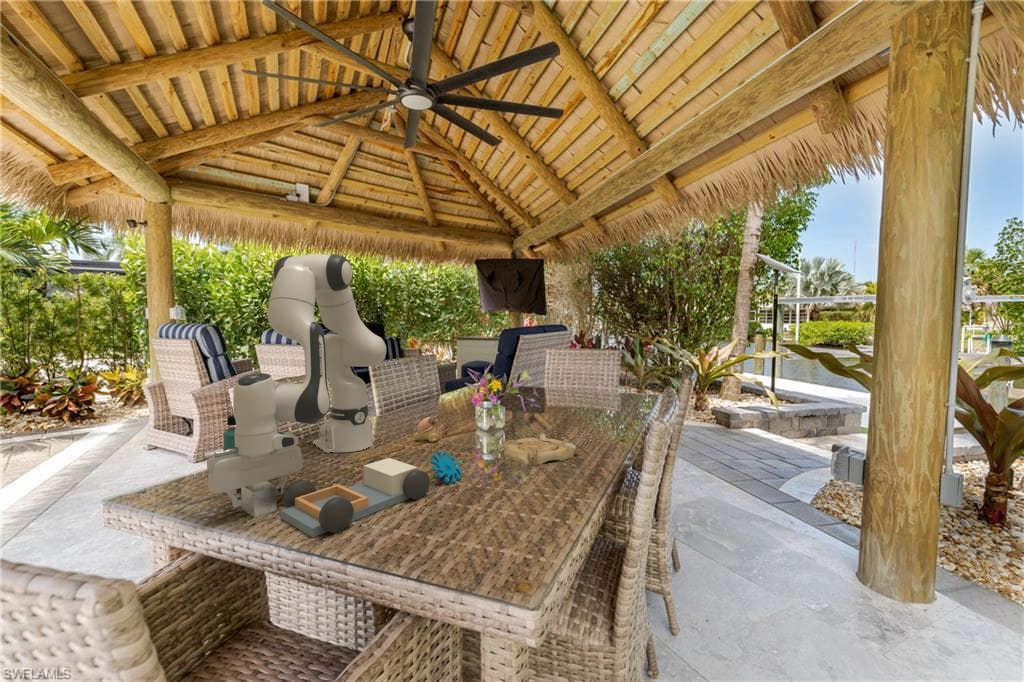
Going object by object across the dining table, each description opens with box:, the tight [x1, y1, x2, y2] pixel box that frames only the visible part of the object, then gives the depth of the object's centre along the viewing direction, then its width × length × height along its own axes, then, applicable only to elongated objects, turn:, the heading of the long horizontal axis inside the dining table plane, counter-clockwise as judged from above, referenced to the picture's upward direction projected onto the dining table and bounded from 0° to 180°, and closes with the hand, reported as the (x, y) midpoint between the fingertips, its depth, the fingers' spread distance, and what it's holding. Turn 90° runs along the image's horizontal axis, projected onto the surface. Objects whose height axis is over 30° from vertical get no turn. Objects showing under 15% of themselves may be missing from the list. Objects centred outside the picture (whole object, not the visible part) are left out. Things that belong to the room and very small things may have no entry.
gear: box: [430, 450, 463, 484], centre depth 132 cm, size 11×6×10 cm
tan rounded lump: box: [412, 416, 441, 443], centre depth 168 cm, size 9×10×10 cm
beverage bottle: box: [222, 414, 236, 451], centre depth 123 cm, size 6×7×20 cm
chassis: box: [280, 456, 431, 539], centre depth 114 cm, size 18×32×7 cm, turn 141°
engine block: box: [240, 481, 278, 518], centre depth 111 cm, size 7×5×6 cm
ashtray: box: [501, 432, 578, 466], centre depth 154 cm, size 24×24×5 cm
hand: (258, 500), depth 111 cm, fingers open, 8 cm apart
